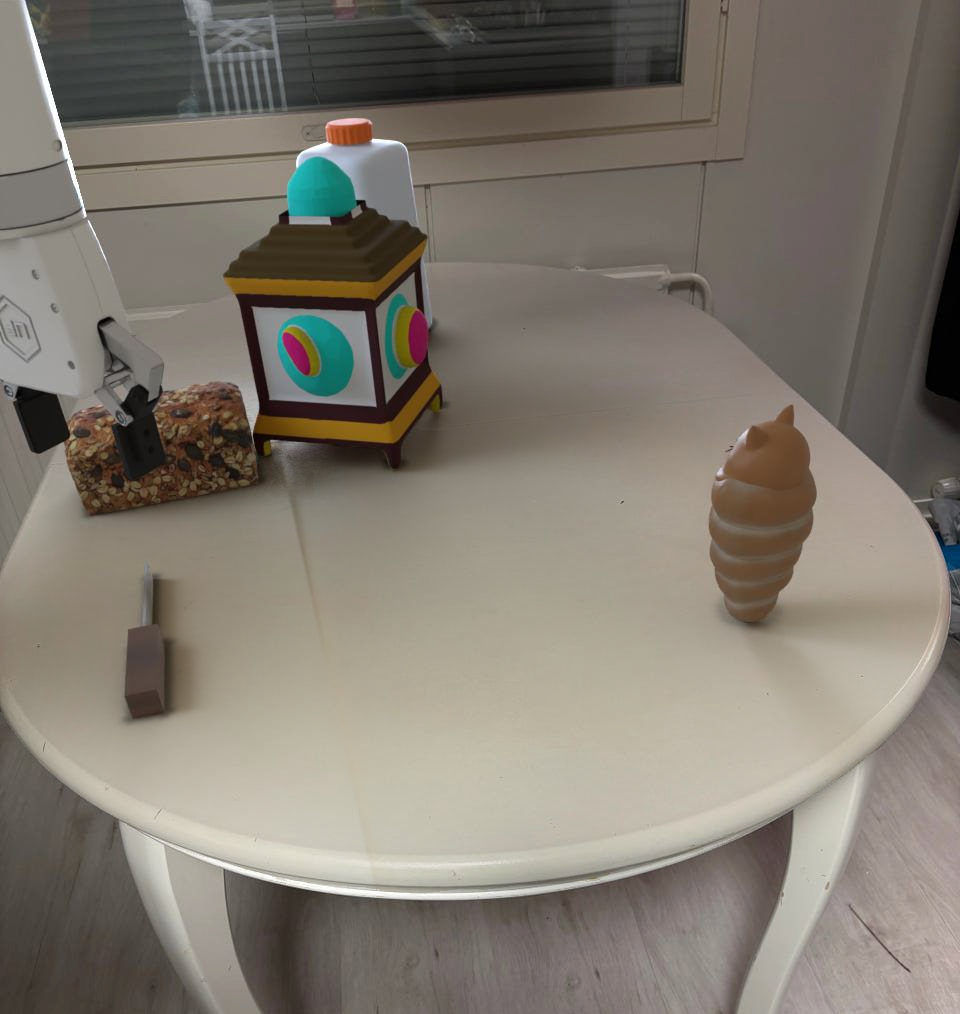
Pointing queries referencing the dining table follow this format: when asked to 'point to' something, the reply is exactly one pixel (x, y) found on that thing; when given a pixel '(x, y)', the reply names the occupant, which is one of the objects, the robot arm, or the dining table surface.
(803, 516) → the cat ice cream
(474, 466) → the dining table surface
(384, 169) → the plastic bottle
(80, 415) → the bread
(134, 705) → the knife
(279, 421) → the decorative lantern
